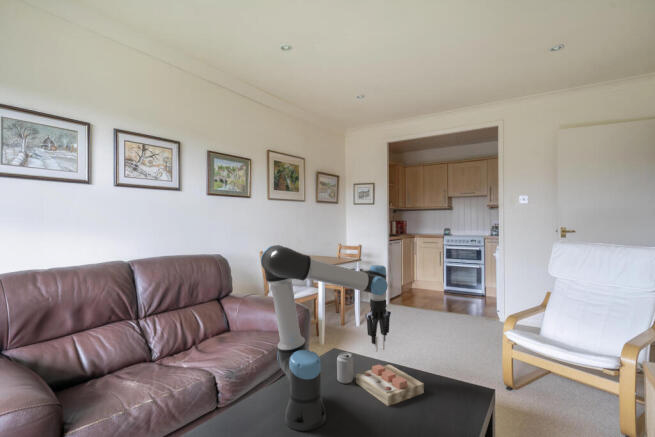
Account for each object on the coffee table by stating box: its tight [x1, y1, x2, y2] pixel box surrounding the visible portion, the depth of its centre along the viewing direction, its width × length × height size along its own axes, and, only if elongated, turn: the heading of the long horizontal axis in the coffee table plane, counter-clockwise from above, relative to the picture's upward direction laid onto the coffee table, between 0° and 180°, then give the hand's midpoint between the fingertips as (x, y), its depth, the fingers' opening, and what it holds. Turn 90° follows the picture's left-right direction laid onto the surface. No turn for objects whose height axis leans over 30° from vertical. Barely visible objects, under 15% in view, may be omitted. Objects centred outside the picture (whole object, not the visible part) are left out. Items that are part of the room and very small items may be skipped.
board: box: [355, 364, 425, 407], centre depth 144 cm, size 20×22×4 cm
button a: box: [392, 376, 407, 390], centre depth 138 cm, size 4×4×4 cm
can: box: [336, 352, 354, 385], centre depth 151 cm, size 8×8×12 cm
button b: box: [382, 370, 396, 383], centre depth 144 cm, size 4×4×4 cm
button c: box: [371, 364, 386, 376], centre depth 150 cm, size 4×4×4 cm
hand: (378, 349), depth 150 cm, fingers open, 3 cm apart
